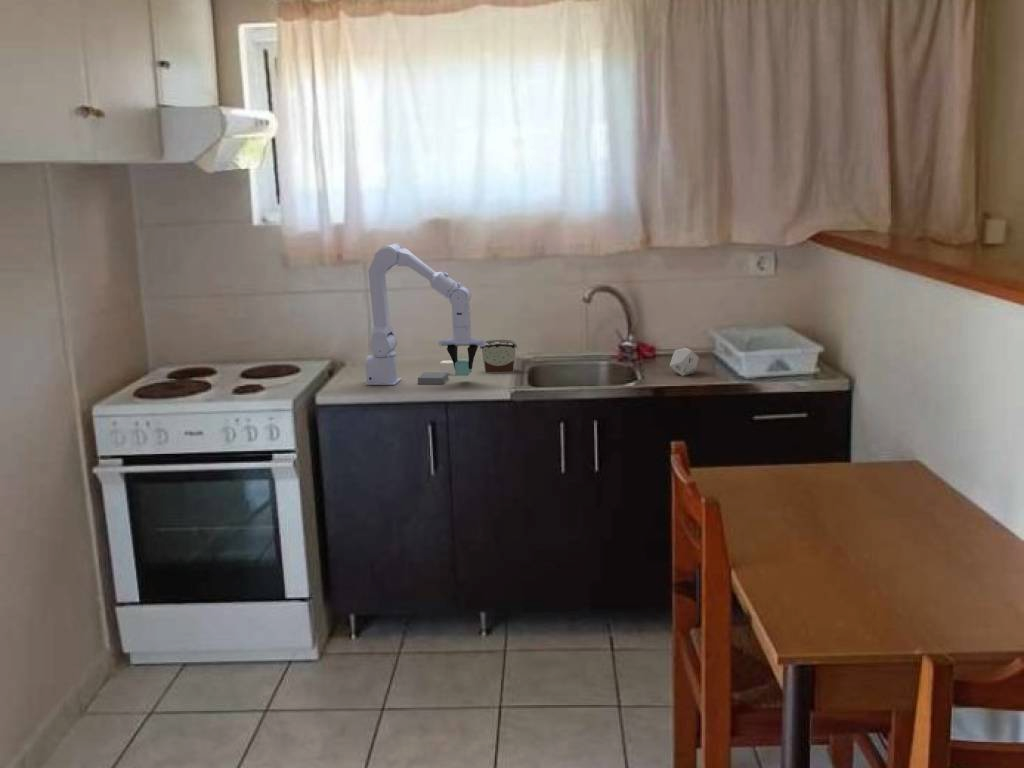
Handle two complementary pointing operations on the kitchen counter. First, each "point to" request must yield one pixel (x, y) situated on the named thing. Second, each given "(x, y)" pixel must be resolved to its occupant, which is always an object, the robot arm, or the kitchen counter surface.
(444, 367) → the cream brick
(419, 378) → the charcoal slab
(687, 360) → the die
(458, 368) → the teal brick
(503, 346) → the food container
